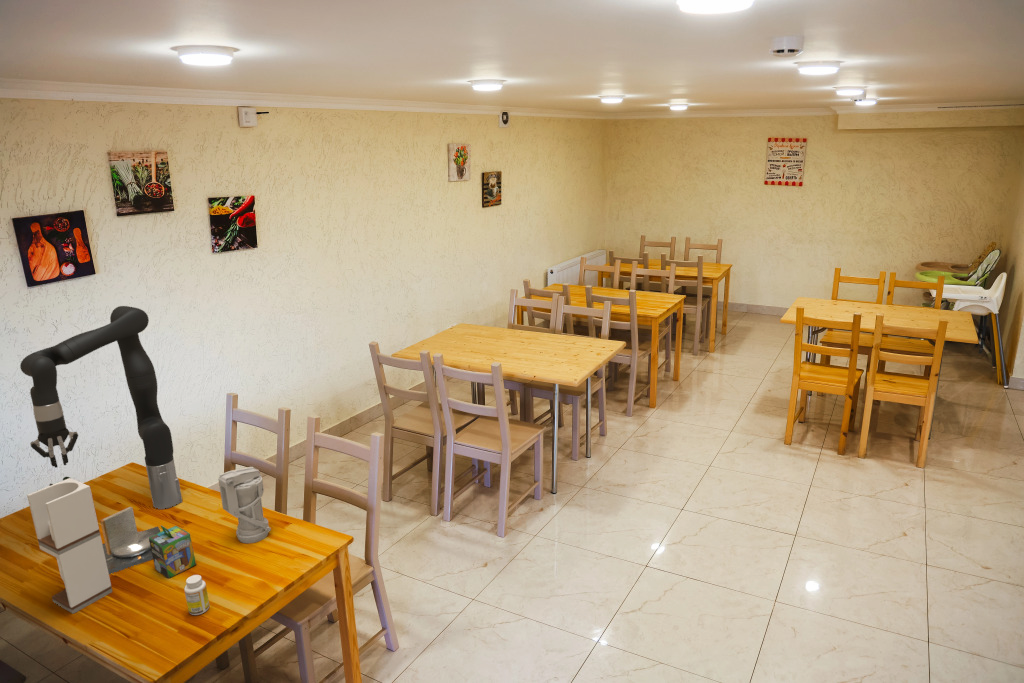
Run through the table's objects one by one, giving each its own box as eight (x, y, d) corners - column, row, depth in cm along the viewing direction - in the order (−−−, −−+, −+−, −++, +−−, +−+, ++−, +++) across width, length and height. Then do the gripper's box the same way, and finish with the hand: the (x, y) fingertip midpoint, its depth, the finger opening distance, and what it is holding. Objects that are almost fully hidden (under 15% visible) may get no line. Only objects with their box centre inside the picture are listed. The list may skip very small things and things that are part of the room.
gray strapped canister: (259, 524, 240) (250, 458, 233) (275, 534, 233) (266, 467, 226) (224, 539, 230) (213, 472, 224) (239, 551, 224) (229, 482, 217)
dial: (141, 531, 233) (134, 495, 230) (164, 541, 227) (157, 505, 223) (98, 552, 221) (90, 515, 218) (120, 564, 215) (113, 526, 211)
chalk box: (196, 565, 217) (189, 524, 213) (168, 579, 210) (160, 537, 206) (182, 555, 222) (175, 514, 218) (153, 569, 215) (145, 527, 211)
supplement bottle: (204, 601, 199) (198, 570, 197) (213, 608, 196) (208, 577, 193) (185, 610, 195) (179, 579, 192) (194, 618, 192) (188, 587, 189)
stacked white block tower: (92, 581, 210) (69, 478, 200) (112, 591, 205) (89, 486, 195) (53, 602, 200) (26, 494, 191) (73, 613, 195) (47, 504, 185)
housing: (158, 530, 237) (157, 525, 237) (171, 552, 224) (170, 548, 223) (99, 549, 227) (98, 544, 226) (109, 574, 213) (108, 569, 213)
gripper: (72, 407, 224) (83, 455, 229) (22, 418, 216) (33, 468, 221) (76, 413, 219) (86, 463, 223) (24, 425, 210) (36, 476, 215)
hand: (60, 465), depth 222 cm, fingers closed
